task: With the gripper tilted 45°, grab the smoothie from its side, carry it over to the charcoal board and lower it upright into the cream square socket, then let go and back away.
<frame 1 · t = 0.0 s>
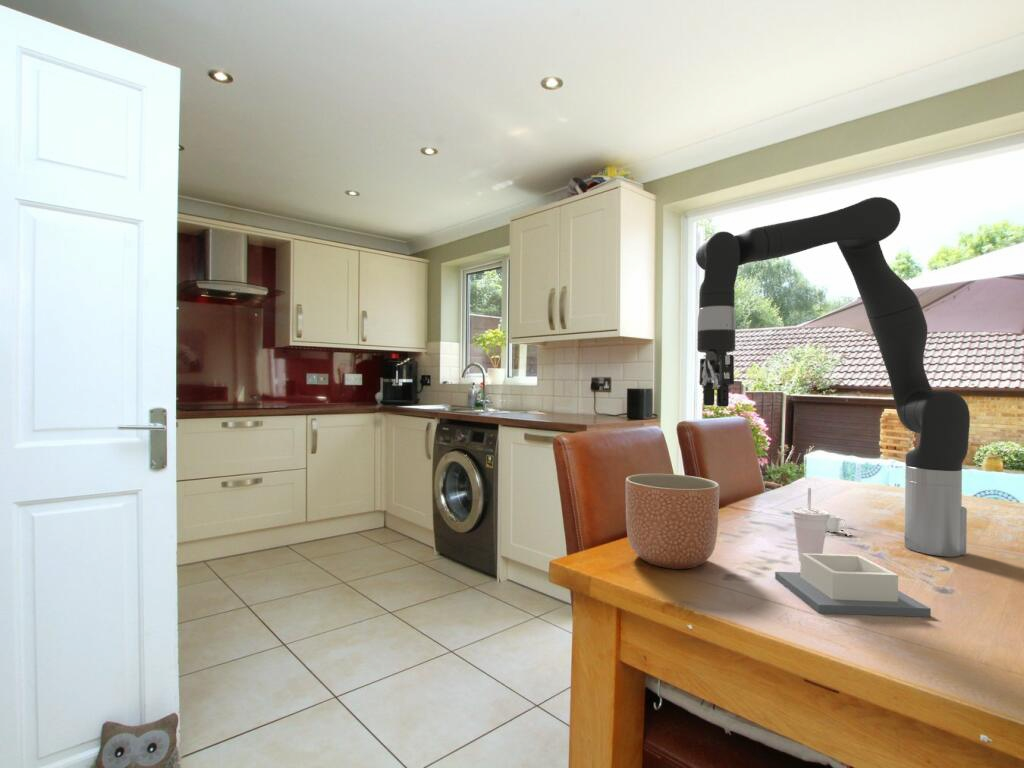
hand: (715, 405, 112), 29 cm above the table, tool pointing down, fingers open, 8 cm apart
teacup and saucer: (821, 531, 126), on the table
planter: (670, 561, 100), on the table
smoothie: (809, 562, 101), on the table
socket board: (846, 596, 84), on the table
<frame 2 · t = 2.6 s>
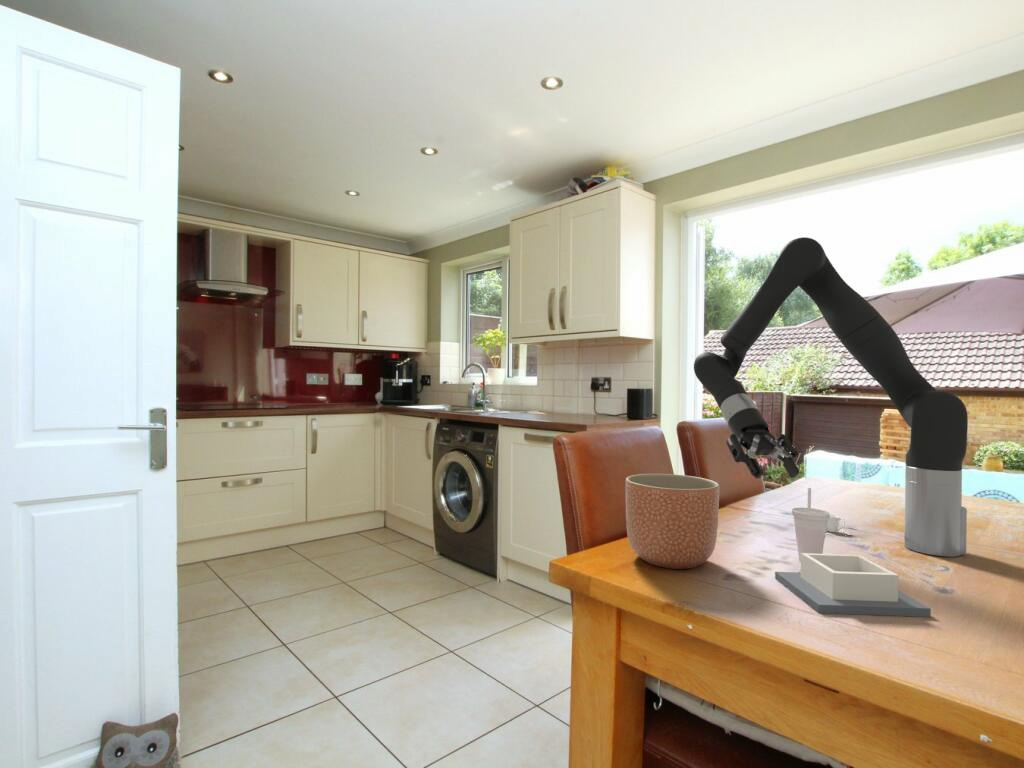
hand: (777, 476, 110), 15 cm above the table, tool tilted 45°, fingers open, 8 cm apart
nothing on the table moved.
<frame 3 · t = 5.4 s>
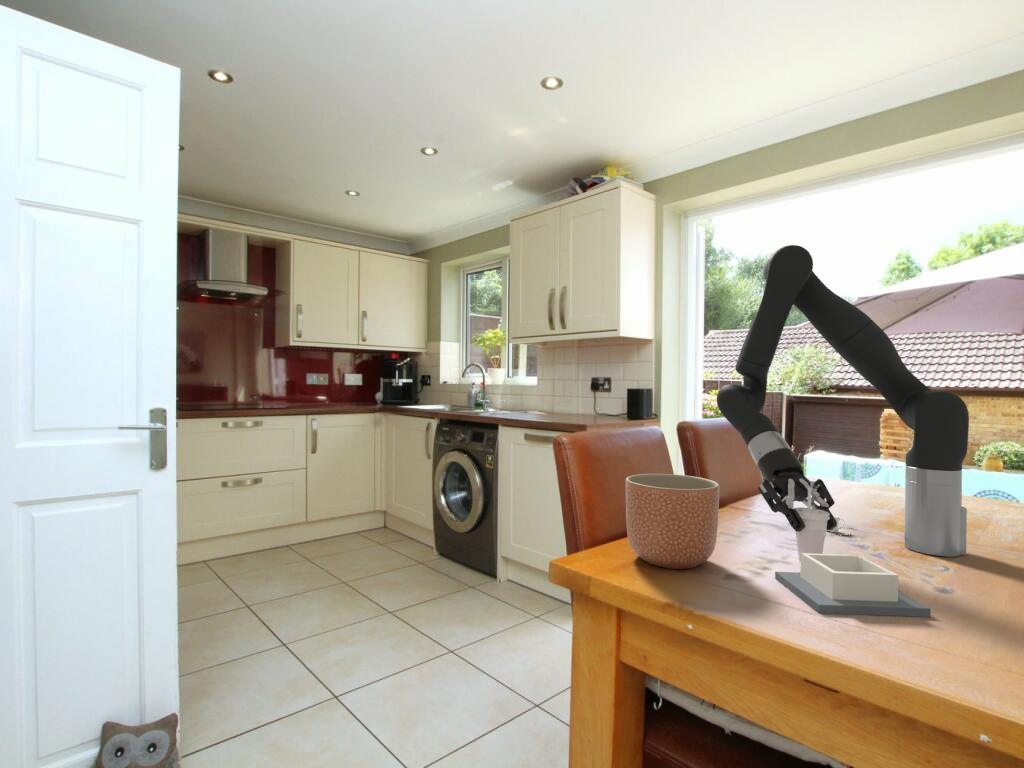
hand: (817, 528, 100), 7 cm above the table, tool tilted 45°, fingers closed on smoothie, 6 cm apart
smoothie: (809, 562, 101), on the table, touching gripper
everything else where it was.
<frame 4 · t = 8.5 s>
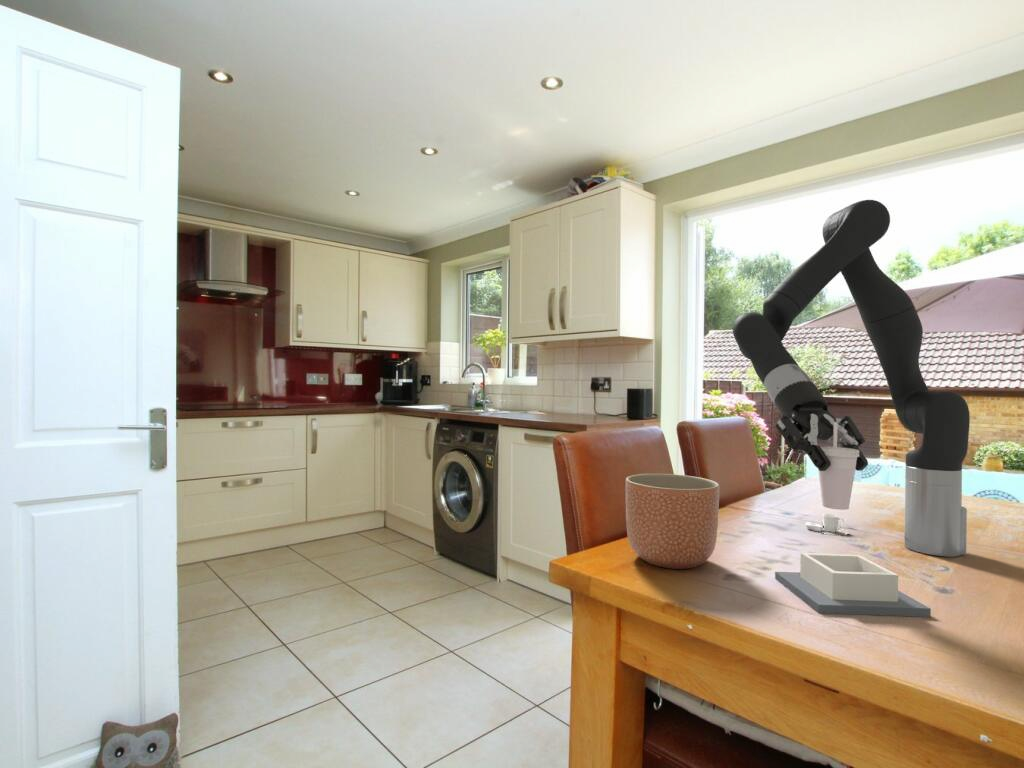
hand: (844, 467, 86), 20 cm above the table, tool tilted 45°, fingers closed on smoothie, 6 cm apart
smoothie: (835, 508, 87), point 13 cm above the table, touching gripper
everything else where it was.
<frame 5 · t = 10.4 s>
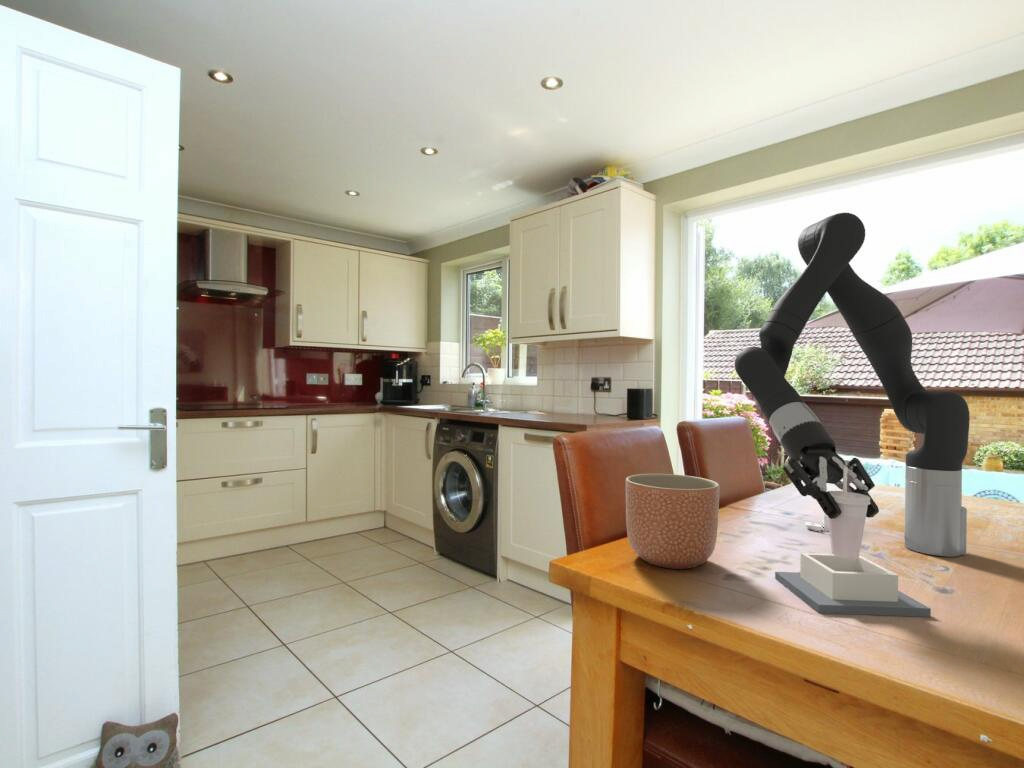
hand: (855, 515, 83), 13 cm above the table, tool tilted 45°, fingers closed on smoothie, 6 cm apart
smoothie: (845, 556, 84), point 6 cm above the table, touching gripper
everything else where it was.
when the fingers open (9 cm above the table, at t = 11.9 s): smoothie drops 1 cm, resting on socket board.
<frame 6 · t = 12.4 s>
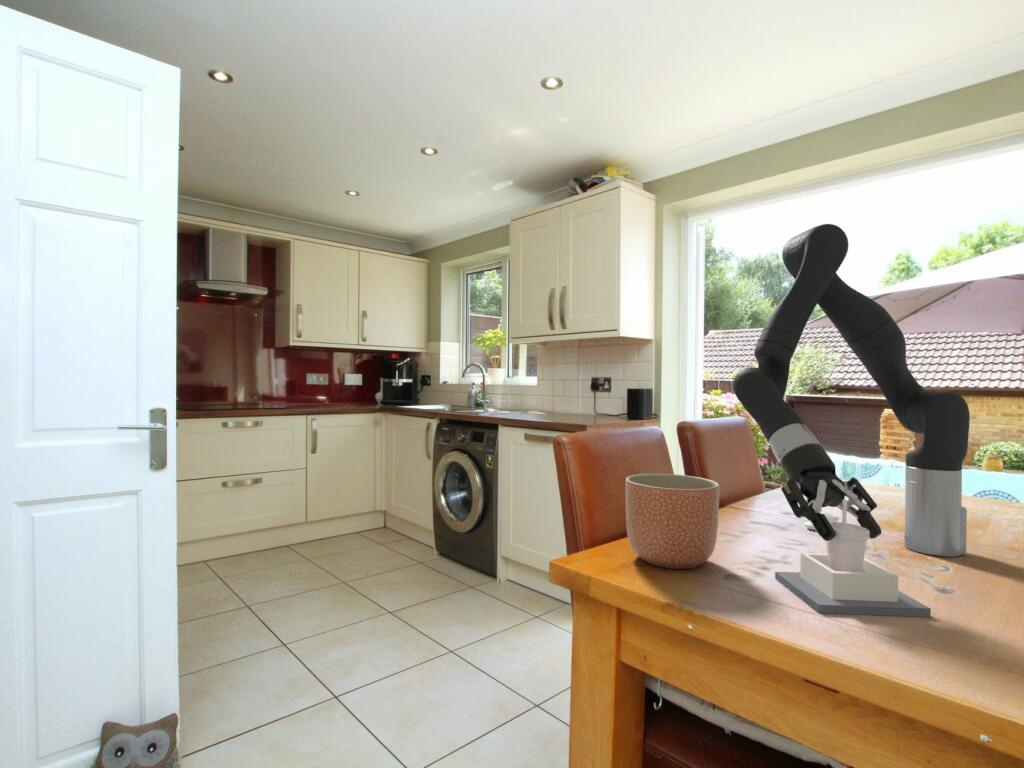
hand: (854, 537, 83), 10 cm above the table, tool tilted 45°, fingers open, 8 cm apart
smoothie: (844, 588, 85), point 1 cm above the table, touching socket board
everything else where it was.
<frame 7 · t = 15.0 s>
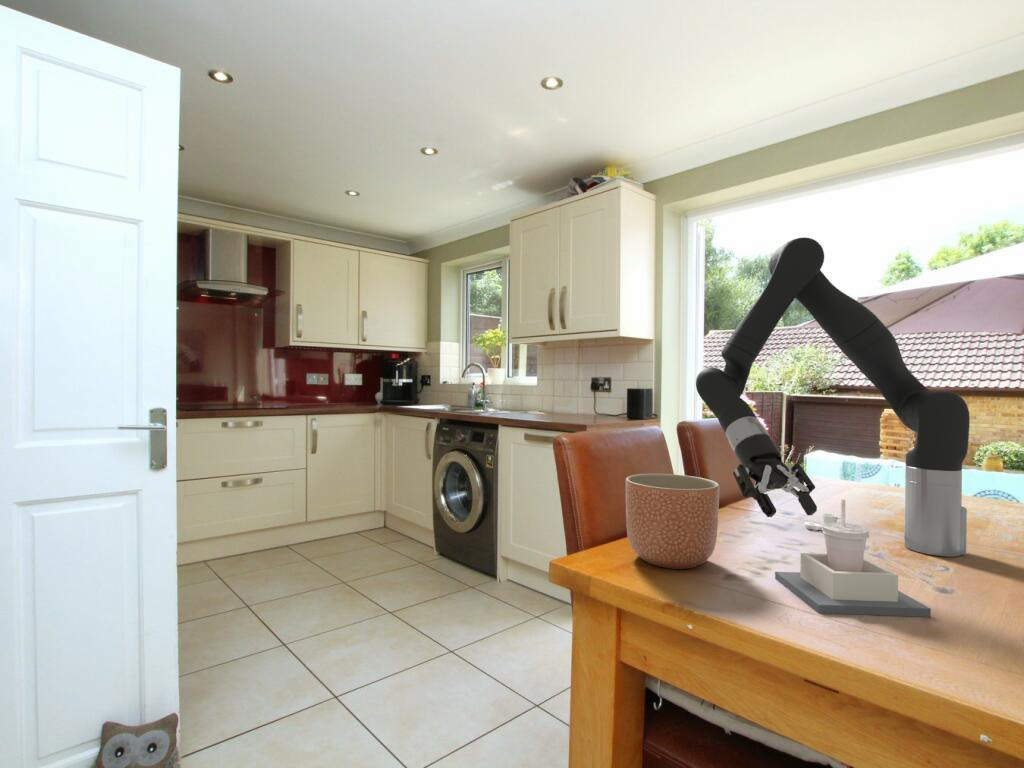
hand: (792, 513, 96), 10 cm above the table, tool tilted 45°, fingers open, 8 cm apart
nothing on the table moved.
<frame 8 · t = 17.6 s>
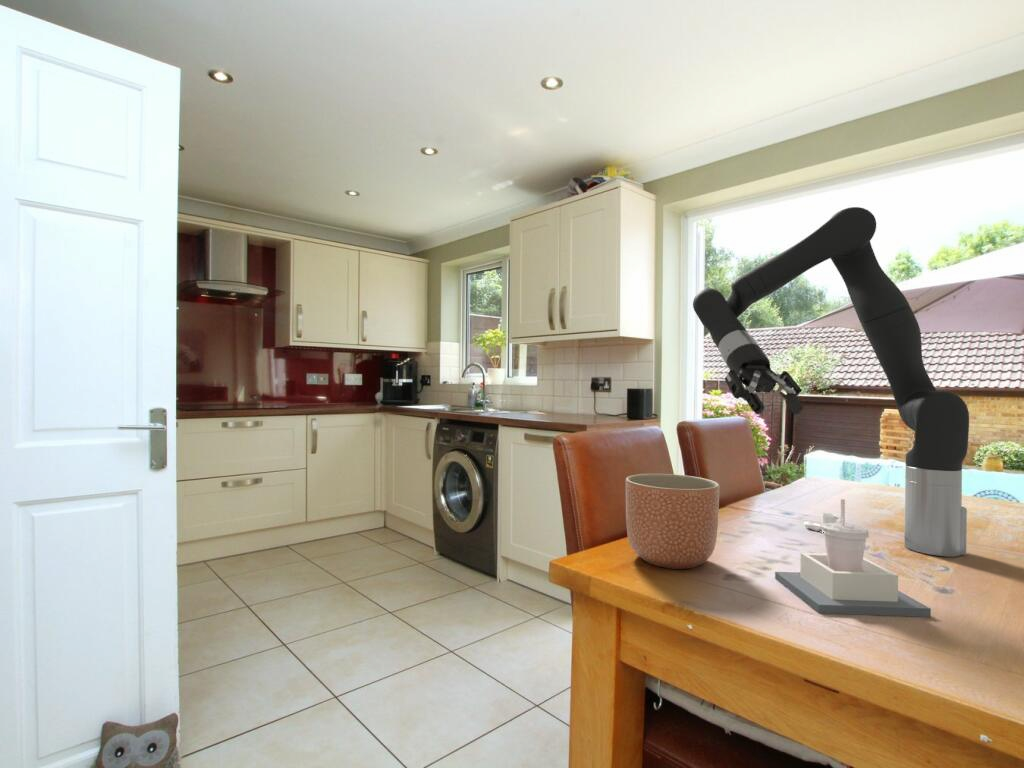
hand: (780, 411, 102), 29 cm above the table, tool tilted 45°, fingers open, 8 cm apart
at the end: smoothie 0.2 cm off-centre on the socket board, point 1.0 cm above the socket board's base; smoothie tilted 1°; the gripper is holding nothing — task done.
